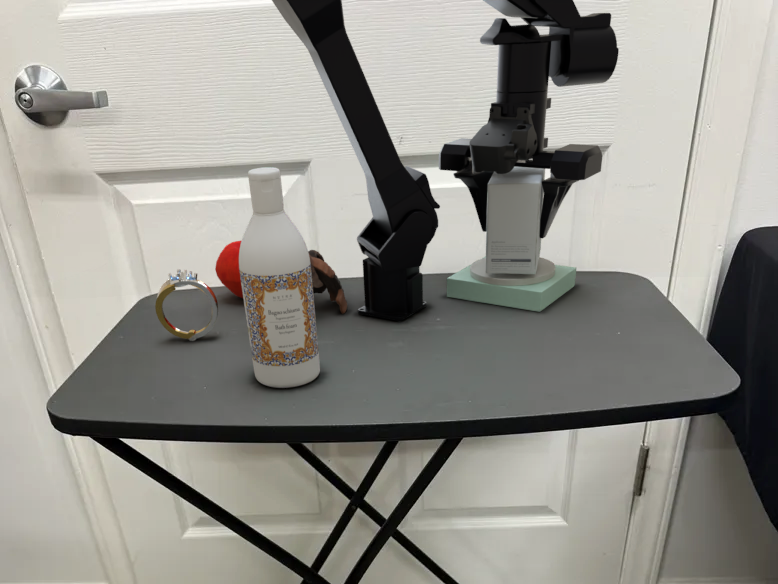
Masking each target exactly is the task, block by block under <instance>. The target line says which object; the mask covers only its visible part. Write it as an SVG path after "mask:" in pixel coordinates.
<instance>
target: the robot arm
mask: <svg viewBox="0 0 778 584" xmlns="http://www.w3.org/2000/svg"><path fill="white" fill-rule="evenodd" d="M271 1H272V3H273V4H274V6H275V7H276V9H277V10H278V12H279V13H280V15H281V17H282V18H283V20H284V21H285V22H286V24H287V25H288V26H289V27H290V29H291V30H292V31H293V32H294V34H295V35H296V36H297V37H298V39H299V40H300V41H301V43H302V44H303V45H304V47H305V48H306V49H307V51H308V53H309V55H310V57H311V59H312V62H313V64H314V67H315V69H316V71H317V73H318V75H319V77H320V80H321V82H322V84H323V87H324V88H325V91H326V92H327V94H328V95H327V96H328V97H329V99H330V101H331V103H332V106H333V108H334V110H335V112H336V114H337V117H338V118H339V121H340V123H341V125H342V127H343V129H344V132H345V134H346V136H347V138H348V140H349V143H350V146H351V147H352V149H353V152H354V154H355V156H356V158H357V160H358V163H359V165H360V167H361V169H362V172H363V173H364V176H365V181H366V191H367V192H366V193H367V200H368V203H369V207H370V210H371V213H372V214H371V215H372V218H371V219H370V220H369V221H368V223H367V224H366V225H365V227H364V228H363V229H362V230H361V232H360V233H359V234H358V235H357V236H356V242H357V244H358V246H359V249H360V251H361V254H362V255H365V256H366V258H364V259H362V274H363V275H362V276H363V294H364V305H363V306H361V307H359V308H358V309H357V313H358V315H364V316H370V317H375V318H380V319H386V320H391V321H396V322H401V321H404V320H406V319H407V318H409V317H411V316H412V315H414V314H416V313H417V312H419V311H421V310H422V309H424V308H426V307H427V305H428V304H427V303H428V302H427V301H425V300H424V284H423V283H424V281H423V280H424V277H423V273H422V272H420V270H421V269H420V267H421V266H422V264H423V262H424V261H423V260H424V257H425V254H426V252H427V248H428V245H429V244H430V243H431V241H432V240H433V238H434V237H435V235H436V233H437V229H438V227H439V217H438V214H437V213H438V212H437V211H436V209H437V210H439V209H440V208H441V205H440V204H439V203H438V202H437V201H436V200H435V198H434V196H433V193H432V190H431V186H430V182H429V179H428V176H427V174H426V173H424V172H422V171H420V170H418V169H416V168H413V167H411V166H409V165H406V166H405V165H404V164H403V162H402V160H401V159H400V155H399V154H398V152H397V149H396V146H395V144H394V143H393V140H392V137H391V135H390V132H389V130H388V128H387V125H386V123H385V121H384V119H383V118H384V117H383V116H382V114H381V111H380V109H379V106H378V104H377V102H376V99H375V97H374V95H373V92H372V89H371V88H370V85H369V83H368V80H367V78H366V75H365V74H364V71H363V68H362V67H361V64H360V62H359V59H358V57H357V54H356V53H355V52H356V51H355V50H354V47H353V45H352V42H351V40H350V38H349V35H348V33H347V30H346V26H345V25H346V24H345V18H344V9H343V0H271ZM482 1H483V2H484V3H486V4H487V5H488V6H490V7H491V8H493V9H494V10H496V11H498V12H499V13H500V14H502V15H504V16H505V18H503V17H496V18H495V19H494V20H493V23H492V24H491V25H490V27H489V28H488V29H487V30H486V31H485V32H484V34H482V35H481V37H480V38H479V43H480V44H481V45H488V46H498V49H497V50H498V53H497V75H496V94H495V95H496V97H495V101H493V102H491V103H490V108H489V116H488V120H487V123H485V124H484V125H483V126H481V128H479V130H478V131H477V132H476V133H475V134H474V135H473V136H472V138H466V137H465V138H464V137H461V138H458V139H455V140H452V141H449V142H446V143H443V145H442V146H441V148H440V150H439V153H438V170H440V171H448V172H449V171H450V172H453V177H454V178H455V179H459V180H460V181H461V182H462V183H463V184H464V185H465V186H466V187H467V189H468V192H469V194H470V196H471V199H472V201H473V204H474V208H475V211H476V214H477V219H478V221H479V224H480V228H481V231H482V232H484V233H486V224H487V191H488V183H489V181H490V179H491V176H492V174H493V173H494V172H496V173H497V174H506V173H508V172H510V171H511V170H512V169H513V168H514V167H529V168H543V169H545V170H546V169H547V170H549V174H550V177H548V178H546V179H545V180H543V181H542V187H543V191H544V195H543V205H542V212H541V220H540V238H541V239H544V238H546V237H547V235H548V232H549V231H550V229H551V227H552V224H553V222H554V220H555V218H556V216H557V213H558V211H559V209H560V207H561V205H562V203H563V201H564V199H565V197H566V196H567V194H568V192H569V191H570V189H571V187H572V185H573V184H575V183H577V182H579V181H584V180H586V179H589V178H591V177H592V176H594V175H597V174H598V173H600V172H602V165H603V157H604V156H603V152H602V150H601V148H600V147H599V145H596V144H580V143H569V144H567V145H565V146H561V147H560V148H557V149H555V150H553V151H552V150H544V149H547V148H548V146H549V145H548V144H549V137H545V134H546V133H545V131H546V119H547V118H546V117H547V110H548V109H551V107H552V97H548V93H549V92H548V91H549V78H550V79H551V81H552V82H553V84H554V86H556V87H557V88H558V87H559V88H561V87H571V86H583V85H595V84H604V83H606V82H608V80H610V79H611V77H612V76H613V74H614V72H615V71H616V67H617V63H618V59H619V52H620V51H619V48H618V42H617V41H618V40H617V35H616V33H615V30H614V28H613V27H612V26H611V22H612V14H611V12H593V13H589V14H587V15H581V14H580V12H579V9H578V7H577V6H576V4H575V2H574V0H482ZM506 17H509V18H519V19H521V20H523V21H524V22H525V23H526V24H513V25H511V24H510V22H509V21H508V20H507V18H506ZM537 27H543V28H544V27H545V28H549V29H548V33H546V34H544V33H543V34H540V32H539V30H538V28H537Z"/></svg>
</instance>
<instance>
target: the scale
mask: <svg viewBox="0 0 778 584" xmlns="http://www.w3.org/2000/svg"><path fill="white" fill-rule="evenodd" d="M576 278H577V266H576V267H575V266H569V265H560V264H555V263H554V262H553V261H551V260H550V259H547V258H544V257H541V256H539V261H538V266H537V271H536V274H508V273H497V274H495V273H486V255H485V256H483V257H482V258H480V259H477V260H475V261H474V262H472V263H471V264H469V265H467V266H466V267H464V268H462V269H461V270H459V271H457V272H455V273H453V274H452V275H449V277H447V278H446V298H453V299H459V300H464V301H471V302H476V303H483V304H489V305H497V306H501V307H508V308H514V309H521V310H527V311H531V312H542V311H543V310H545V309H546V308H547V307H548V306H549V305H551V304H553V303H554V302H555V301H557V300H558V299H559V298H561V297H563V295H564V294H566V293H567V292H569V291H570V290H571V289H573V288H574V287H575V286H576Z"/></svg>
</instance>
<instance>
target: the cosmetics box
mask: <svg viewBox="0 0 778 584" xmlns="http://www.w3.org/2000/svg"><path fill="white" fill-rule="evenodd" d="M545 178H546V169H543V168H529V167H514V168H513V169H512V170H511V171H510V172H508V173H506V174H497V173H496V172H494V173H493V174H492V176H491V179H490V181H489V183H488V191H487V224H486V232H485V233H486V234H485V256H486V273H495V274H497V273H508V274H536V271H537V266H538V261H539V257H541V250H542V238H540V220H541V212H542V205H543V197H544V191H543V187H542V181H543V180H545Z"/></svg>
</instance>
